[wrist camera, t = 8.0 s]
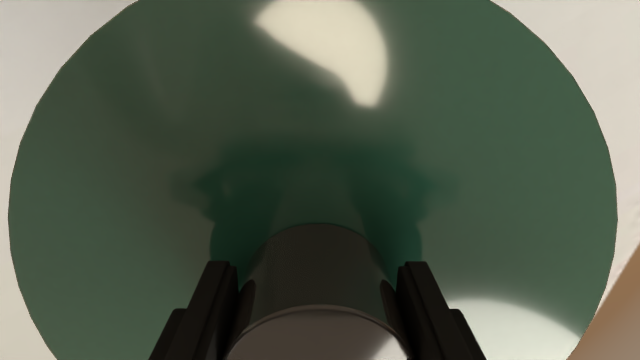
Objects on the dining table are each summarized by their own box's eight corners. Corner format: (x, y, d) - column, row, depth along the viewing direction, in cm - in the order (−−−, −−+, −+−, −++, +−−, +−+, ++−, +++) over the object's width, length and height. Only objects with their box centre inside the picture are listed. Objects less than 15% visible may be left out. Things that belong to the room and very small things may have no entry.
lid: (95, 450, 16) (11, 614, 12) (-45, -49, 10) (-356, -114, 5) (527, 447, 16) (607, 604, 12) (672, -35, 10) (962, -83, 6)
